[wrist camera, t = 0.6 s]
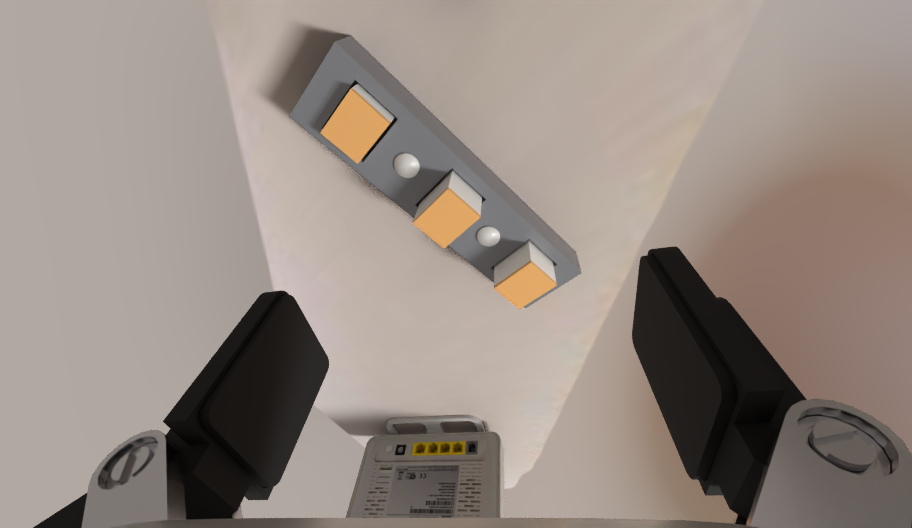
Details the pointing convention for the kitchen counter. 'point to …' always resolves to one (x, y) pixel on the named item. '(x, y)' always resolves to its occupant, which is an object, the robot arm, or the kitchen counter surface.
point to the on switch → (357, 123)
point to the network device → (431, 473)
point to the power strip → (427, 162)
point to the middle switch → (448, 209)
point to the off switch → (524, 274)
